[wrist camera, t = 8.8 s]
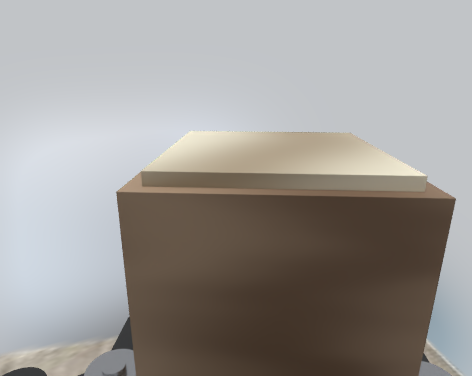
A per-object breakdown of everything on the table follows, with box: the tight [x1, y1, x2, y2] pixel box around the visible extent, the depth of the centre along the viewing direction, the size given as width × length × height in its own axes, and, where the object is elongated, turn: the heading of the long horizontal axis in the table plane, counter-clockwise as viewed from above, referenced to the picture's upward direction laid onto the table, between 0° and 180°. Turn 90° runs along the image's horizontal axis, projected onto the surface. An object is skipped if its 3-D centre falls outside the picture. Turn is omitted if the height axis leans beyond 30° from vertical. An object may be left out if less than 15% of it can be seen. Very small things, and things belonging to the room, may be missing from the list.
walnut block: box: [116, 131, 456, 376], centre depth 9 cm, size 5×5×12 cm
